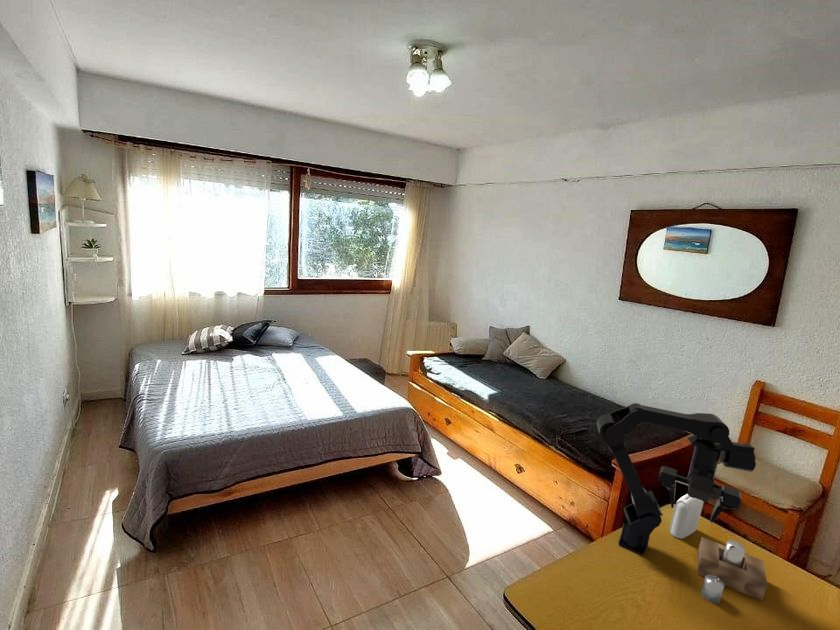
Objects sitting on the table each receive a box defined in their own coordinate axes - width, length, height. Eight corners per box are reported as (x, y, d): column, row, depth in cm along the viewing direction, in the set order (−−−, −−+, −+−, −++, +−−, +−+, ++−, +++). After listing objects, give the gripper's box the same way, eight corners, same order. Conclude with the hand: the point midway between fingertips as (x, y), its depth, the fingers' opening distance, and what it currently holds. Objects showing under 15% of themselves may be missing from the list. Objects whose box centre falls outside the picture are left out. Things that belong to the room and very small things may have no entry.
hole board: (697, 573, 118) (701, 557, 117) (697, 552, 127) (701, 536, 126) (762, 601, 111) (767, 583, 110) (758, 576, 120) (763, 560, 119)
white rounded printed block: (683, 522, 140) (692, 487, 138) (698, 531, 137) (707, 494, 134) (666, 532, 134) (675, 495, 132) (681, 541, 131) (690, 503, 128)
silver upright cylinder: (718, 567, 122) (726, 538, 120) (736, 574, 120) (744, 544, 118) (718, 576, 118) (727, 546, 117) (737, 583, 116) (745, 553, 115)
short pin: (701, 597, 110) (705, 581, 109) (701, 587, 114) (705, 572, 113) (720, 606, 108) (724, 590, 107) (719, 595, 112) (724, 580, 111)
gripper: (662, 461, 117) (650, 514, 120) (749, 489, 107) (734, 546, 111) (665, 445, 126) (654, 495, 129) (746, 470, 117) (731, 523, 120)
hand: (691, 514), depth 122 cm, fingers open, 9 cm apart
